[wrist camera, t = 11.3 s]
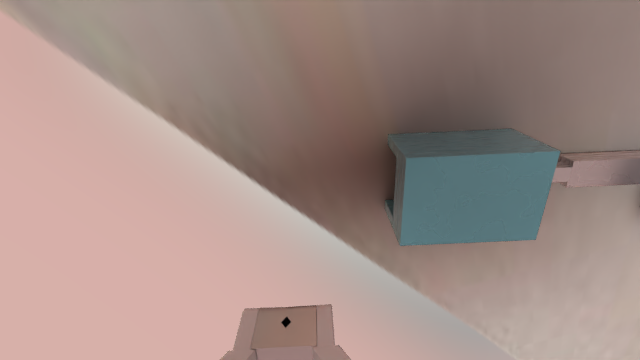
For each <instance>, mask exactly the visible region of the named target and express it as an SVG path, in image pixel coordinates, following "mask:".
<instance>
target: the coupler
mask: <svg viewBox="0 0 640 360" xmlns="http://www.w3.org/2000/svg"><path fill="white" fill-rule="evenodd" d="M552 182H558V183H560V184H562V185H563V186H565V187H583V186H606V185H628V184H640V150H634V151H612V152H590V153H568V154H560V155H559V158H558V162H557V165H556V169H555V172H554V176H553V180H552Z"/></svg>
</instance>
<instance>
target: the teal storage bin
mask: <svg viewBox="0 0 640 360" xmlns="http://www.w3.org/2000/svg"><path fill="white" fill-rule="evenodd" d="M388 146H389V147H390V149H391V150H392V152H393V153H394V155H395V156H396V175H395V192H394V200H385V211H386V213H387V215H388V218H389V220H390V223H391V225H392V228H393V230H394V232H395V235H396V237H397V240H398V242H399V245H400V246H406V245H428V244H451V243H473V242H496V241H518V240H536V237H537V233H538V230H539V226H540V222H541V219H542V215H543V212H544V208H545V205H546V201H547V197H548V194H549V190H550V187H551V183H552V180H553V176H554V172H555V169H556V165H557V162H558V158H559V155H560V151H559V150H557V149H555V148H552V147H550V146H548V145H546V144H544V143H542V142H540V141H537V140H535V139H533V138H531V137H529V136H527V135H524V134H522V133H520V132H518V131H516V130H514V129H497V130H474V131H452V132H430V133H408V134H388Z"/></svg>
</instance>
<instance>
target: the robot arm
mask: <svg viewBox="0 0 640 360" xmlns="http://www.w3.org/2000/svg"><path fill="white" fill-rule="evenodd" d="M220 360H351V359H350V358H349V357H348V355H347V354H346V353H345V352H344V351H343V349H342V348H341V347H340V346H339V345H336V346H335V343H334V329H333V316H332V306H331V304H329V305H317V306H316V305H313V306H296V307H278V308H253V309H252V308H251V309H244V311H243V313H242V317H241V321H240V325H239V329H238V332H237V336H236V341H235V344H234V348H233V351H228V352H227V353H226V354H225V355H224V356H223V357H222V358H221V359H220Z"/></svg>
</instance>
